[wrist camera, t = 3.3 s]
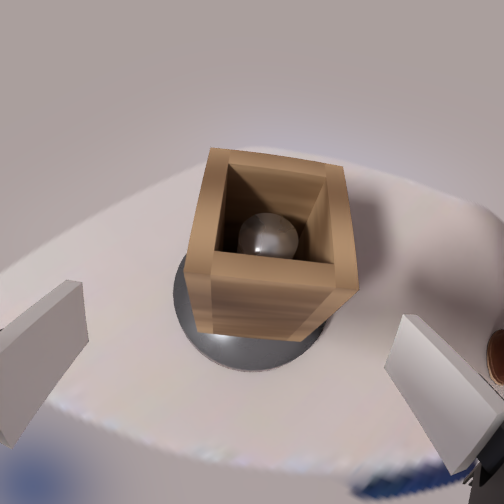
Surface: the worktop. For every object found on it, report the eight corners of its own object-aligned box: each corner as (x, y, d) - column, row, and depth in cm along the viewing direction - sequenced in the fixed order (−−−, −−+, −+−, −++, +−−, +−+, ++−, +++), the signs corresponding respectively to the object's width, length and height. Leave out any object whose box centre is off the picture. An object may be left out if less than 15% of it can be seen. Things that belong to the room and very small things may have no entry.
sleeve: (300, 341, 21) (359, 289, 12) (197, 332, 21) (183, 271, 12) (301, 252, 25) (342, 166, 16) (210, 242, 24) (210, 147, 16)
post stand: (346, 338, 23) (406, 298, 15) (203, 393, 20) (194, 385, 12) (288, 219, 28) (313, 147, 20) (160, 253, 25) (139, 182, 17)
